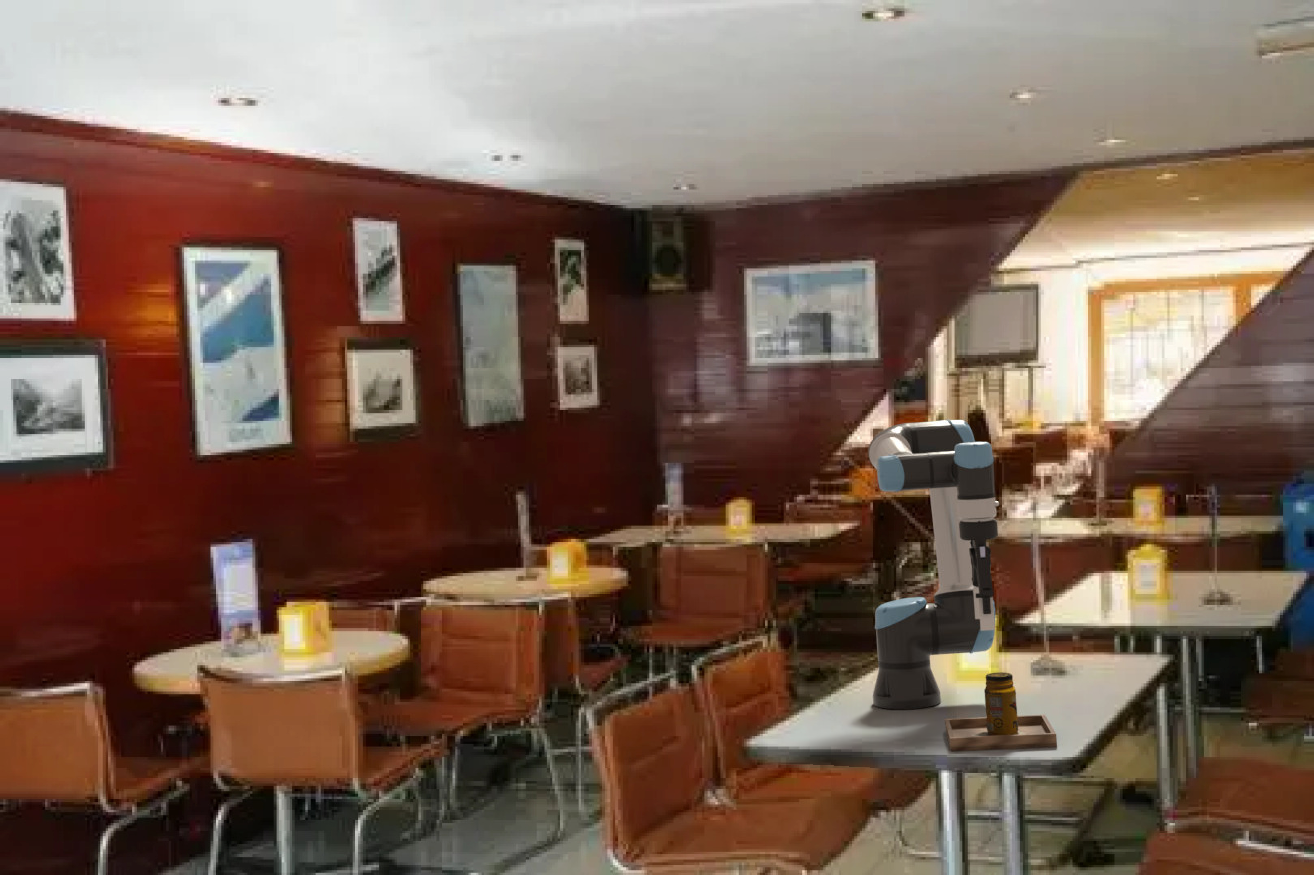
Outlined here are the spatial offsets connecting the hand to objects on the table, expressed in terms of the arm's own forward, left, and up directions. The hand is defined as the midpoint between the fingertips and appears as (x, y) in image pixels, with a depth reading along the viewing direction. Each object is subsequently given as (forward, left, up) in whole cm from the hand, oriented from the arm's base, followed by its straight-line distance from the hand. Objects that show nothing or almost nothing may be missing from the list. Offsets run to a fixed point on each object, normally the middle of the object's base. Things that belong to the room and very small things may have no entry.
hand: (984, 624), depth 300 cm
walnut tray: (+1, -5, -22) cm, 23 cm away
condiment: (+1, -5, -22) cm, 22 cm away
